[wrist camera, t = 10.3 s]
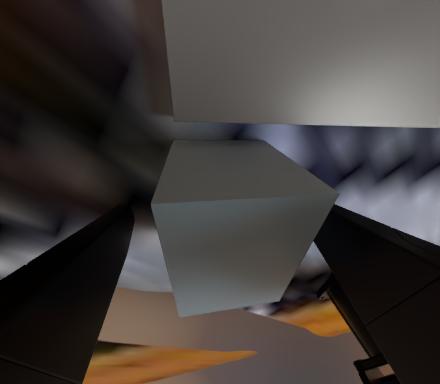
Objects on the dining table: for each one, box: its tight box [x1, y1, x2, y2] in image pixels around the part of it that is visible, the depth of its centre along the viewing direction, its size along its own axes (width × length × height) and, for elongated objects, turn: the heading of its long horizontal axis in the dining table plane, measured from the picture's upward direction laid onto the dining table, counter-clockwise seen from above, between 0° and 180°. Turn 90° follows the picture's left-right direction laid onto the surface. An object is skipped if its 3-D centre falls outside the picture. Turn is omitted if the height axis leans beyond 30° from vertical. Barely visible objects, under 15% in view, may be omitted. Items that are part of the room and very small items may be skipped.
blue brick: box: [151, 140, 340, 317], centre depth 7 cm, size 6×4×5 cm
